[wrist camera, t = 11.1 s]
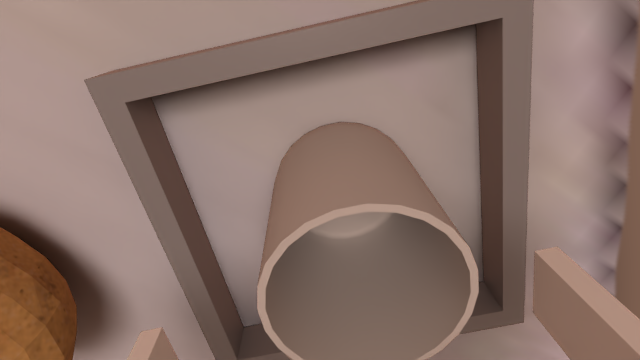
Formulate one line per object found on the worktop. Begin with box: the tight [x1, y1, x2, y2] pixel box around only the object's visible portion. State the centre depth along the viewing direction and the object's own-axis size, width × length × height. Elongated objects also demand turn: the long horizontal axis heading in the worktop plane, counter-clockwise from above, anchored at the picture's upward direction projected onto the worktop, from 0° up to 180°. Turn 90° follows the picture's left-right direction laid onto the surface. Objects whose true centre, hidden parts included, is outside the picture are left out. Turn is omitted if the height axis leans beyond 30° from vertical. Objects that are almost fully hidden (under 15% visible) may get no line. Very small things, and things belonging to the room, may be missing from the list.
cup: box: [257, 122, 479, 360], centre depth 17 cm, size 7×10×9 cm
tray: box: [84, 0, 534, 360], centre depth 19 cm, size 18×18×2 cm
